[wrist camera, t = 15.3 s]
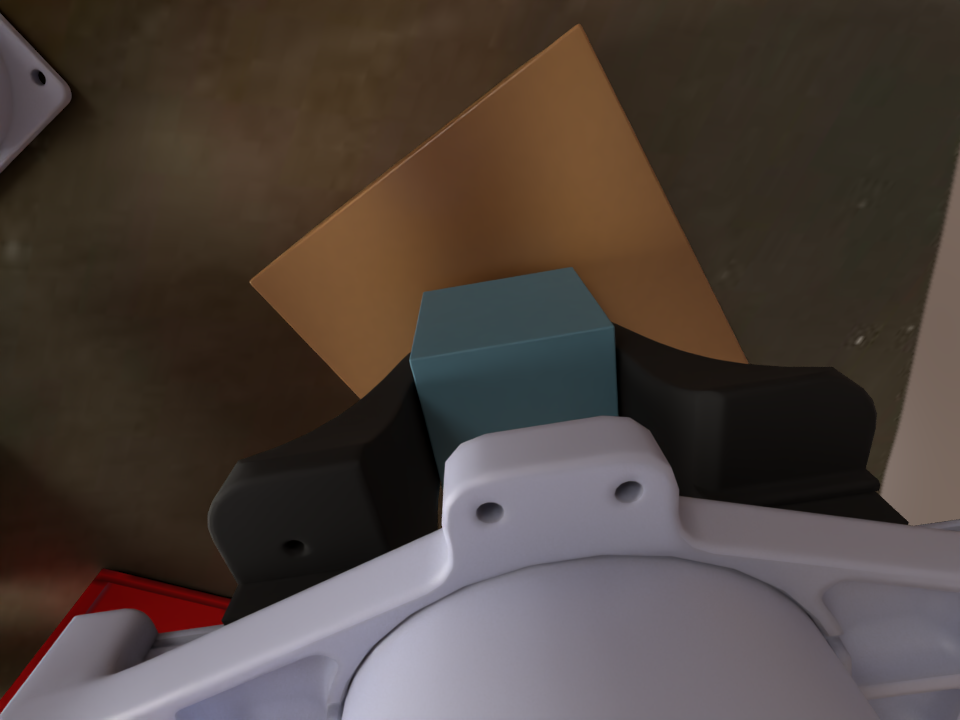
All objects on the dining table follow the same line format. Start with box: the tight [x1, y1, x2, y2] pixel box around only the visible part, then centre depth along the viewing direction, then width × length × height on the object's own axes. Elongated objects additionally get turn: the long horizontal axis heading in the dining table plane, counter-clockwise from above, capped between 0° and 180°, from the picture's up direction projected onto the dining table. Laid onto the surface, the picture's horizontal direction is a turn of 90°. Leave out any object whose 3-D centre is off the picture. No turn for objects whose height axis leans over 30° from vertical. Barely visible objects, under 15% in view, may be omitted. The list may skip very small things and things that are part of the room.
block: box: [409, 267, 619, 489], centre depth 13 cm, size 4×4×4 cm
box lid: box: [250, 24, 749, 482], centre depth 16 cm, size 11×12×1 cm
